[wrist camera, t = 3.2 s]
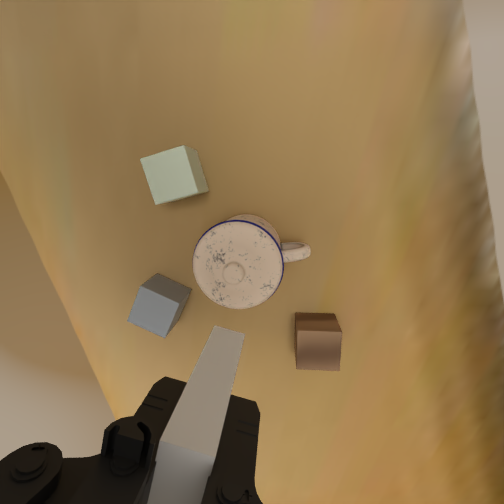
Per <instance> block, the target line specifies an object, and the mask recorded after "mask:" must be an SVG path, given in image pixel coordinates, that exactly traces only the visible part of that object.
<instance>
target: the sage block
mask: <svg viewBox="0 0 504 504" xmlns="http://www.w3.org/2000/svg"><path fill="white" fill-rule="evenodd" d="M140 160H141V163H142V166H143V169H144V172H145V175H146V178H147V181H148V184H149V187H150V190H151V193H152V196H153V199H154V202H155V205H158V204H163V203H169V202H174V201H177V200H181V199H184V198H188V197H191V196H195V195H198V194H202V193H205V192H208V191H209V190H208V187H207V183H206V180H205V176H204V173H203V170H202V166H201V163H200V160H199V156H198V153H197V150H195V149H192V148H190V147H187V146H185V145H182V146H179V147H176V148H173V149H170V150H166V151H163V152H160V153H157V154H154V155H150V156H147V157H144V158H141V159H140Z"/></svg>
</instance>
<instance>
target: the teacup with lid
mask: <svg viewBox="0 0 504 504" xmlns="http://www.w3.org/2000/svg"><path fill="white" fill-rule="evenodd" d="M310 254H311V250H310V246H309V245H308V244H306V243H302V242H286V243H280V239H279V236H278V234H277V232H276V230H275V229H274V228H273V226H272V225H271V224H270V223H269V222H267V221H266V220H264V219H263V218H261V217H258V216H255V215H250V214H242V215H237V216H234V217H231V218H229V219H228V220H226V221H224V222H221V223H219V224H216V225H215V226H213V227H211V228H210V229H209V230H207V231H206V232H205V233H204V234H203V235H202V237H201V238H200V240H199V241H198V243H197V245H196V247H195V250H194V254H193V272H194V276H195V279H196V281H197V284H198V285H199V287H200V289H201V290H202V291H203V293H204V294H205V295H206V296H207V297H208V298H210V299H211V300H212V301H214V302H215V303H217V304H219V305H221V306H224V307H227V308H232V309H246V308H251V307H254V306H257V305H259V304H261V303H263V302H264V301H266V300H267V299H268V298H270V297H271V296H272V295H273V294H274V292H275V291H276V290H277V288H278V286H279V284H280V282H281V280H282V276H283V271H284V263H285V262H294V261H299V260H303V259H306V258H308V257H309V256H310Z"/></svg>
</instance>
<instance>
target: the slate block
mask: <svg viewBox="0 0 504 504" xmlns="http://www.w3.org/2000/svg"><path fill="white" fill-rule="evenodd" d="M190 291H191V289H190V288H188V287H186V286H184V285H181V284H179V283H177V282H175V281H173V280H170V279H168V278H166V277H164V276H162V275H160V274H156V275H154V276H153V277H152V278H150V279H149V280H148V281H146V282H145V283H143V284H142V285H141V286H140V288H139V291H138V294H137V296H136V299H135V302H134V304H133V307H132V309H131V312H130V315H129V317H128V320H127V321H128V322H130V323H133V324H135V325H137V326H139V327H141V328H143V329H146V330H148V331H150V332H152V333H154V334H157V335H159V336H161V337H163V338H165V337H166V336H167V335H168V333H169V332H170V331H171V329H172V328H173V327H174V325H175V324H176V323H177V321H178V320H179V317H180V315H181V313H182V310H183V308H184V306H185V303H186V301H187V299H188V296H189V294H190Z"/></svg>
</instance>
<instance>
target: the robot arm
mask: <svg viewBox="0 0 504 504" xmlns="http://www.w3.org/2000/svg"><path fill="white" fill-rule="evenodd" d="M244 337H245V334H244V333H240V332H237V331H233V330H230V329H226V328H223V327H219V326H215V325H214V328H213V330H212V332H211V334H210V336H209V338H208V340H207V342H206V344H205V346H204V349H203V351H202V353H201V355H200V357H199V359H198V361H197V363H196V365H195V367H194V370H193V372H192V374H191V376H190V378H189V380H188V382H187V383H186V382H183V381H179V380H176V379H172V378H169V377H166V376H165V377H164V378H162V379H161V380H159V381H158V382H156V383H155V384H154V385H153V387H152V388H151V390H150V391H149V393H148V395H147V396H146V397H145V399H144V401H143V402H142V404H141V405H140V407H139V408H138V410H137V412H136V413H135V415H134V416H130V417H124V418H120V419H118V420H116V421H115V422H112V423H111V424H110V425H109V426H108V427H107V428H106V429H105V431H104V437H103V443H102V449H101V454H98V455H95V456H91V457H84V458H63V457H62V452H61V450H60V449H59V448H58V447H57V446H56V445H53V444H50V443H47V442H44V443H43V442H42V443H33V444H29V445H26V446H23V447H21V448H19V449H17V450H16V451H14V452H12V453H10V454H9V455H7V456H6V457H5V458H3V459H2V460H1V461H0V504H263V503H262V502H261V501H260V499H259V497H258V495H257V492H256V488H255V479H254V478H255V466H256V455H257V444H258V433H259V422H260V412H259V409H258V406H257V404H256V402H255V401H251V400H248V399H245V398H241V397H238V396H234V395H231V391H232V387H233V383H234V378H235V374H236V370H237V366H238V362H239V358H240V354H241V349H242V345H243V341H244Z"/></svg>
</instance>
